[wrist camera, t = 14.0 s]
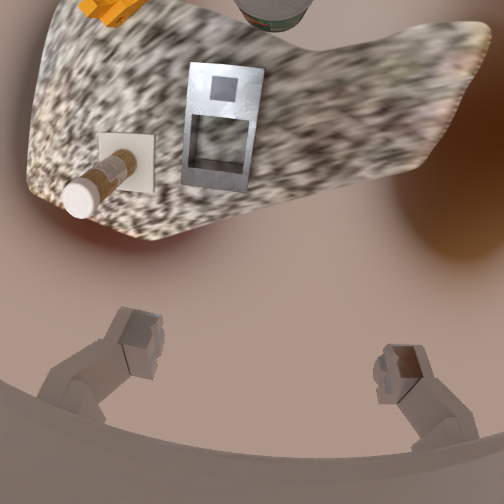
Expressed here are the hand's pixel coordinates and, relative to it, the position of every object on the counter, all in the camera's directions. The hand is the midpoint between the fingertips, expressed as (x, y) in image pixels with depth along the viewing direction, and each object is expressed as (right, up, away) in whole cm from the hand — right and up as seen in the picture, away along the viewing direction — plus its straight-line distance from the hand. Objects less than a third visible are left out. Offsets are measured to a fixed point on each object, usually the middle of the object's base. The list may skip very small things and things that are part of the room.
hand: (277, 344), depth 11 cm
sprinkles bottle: (-20, +16, +31) cm, 40 cm away
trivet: (-19, +16, +32) cm, 41 cm away
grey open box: (-4, +20, +28) cm, 35 cm away
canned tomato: (+2, +33, +19) cm, 38 cm away
